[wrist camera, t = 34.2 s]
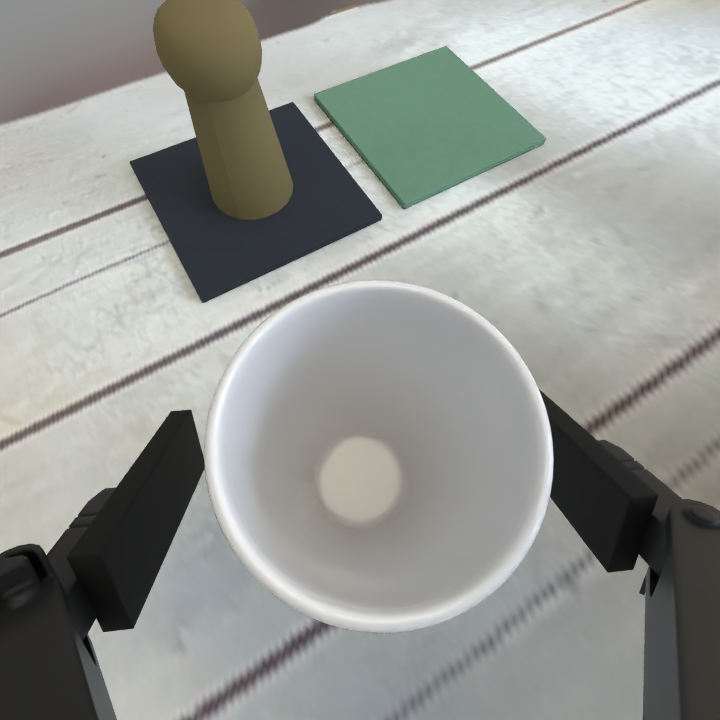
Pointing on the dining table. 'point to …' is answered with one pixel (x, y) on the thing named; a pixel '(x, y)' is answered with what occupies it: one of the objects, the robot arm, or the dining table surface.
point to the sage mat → (427, 124)
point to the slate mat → (261, 236)
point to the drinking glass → (378, 456)
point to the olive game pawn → (225, 102)
